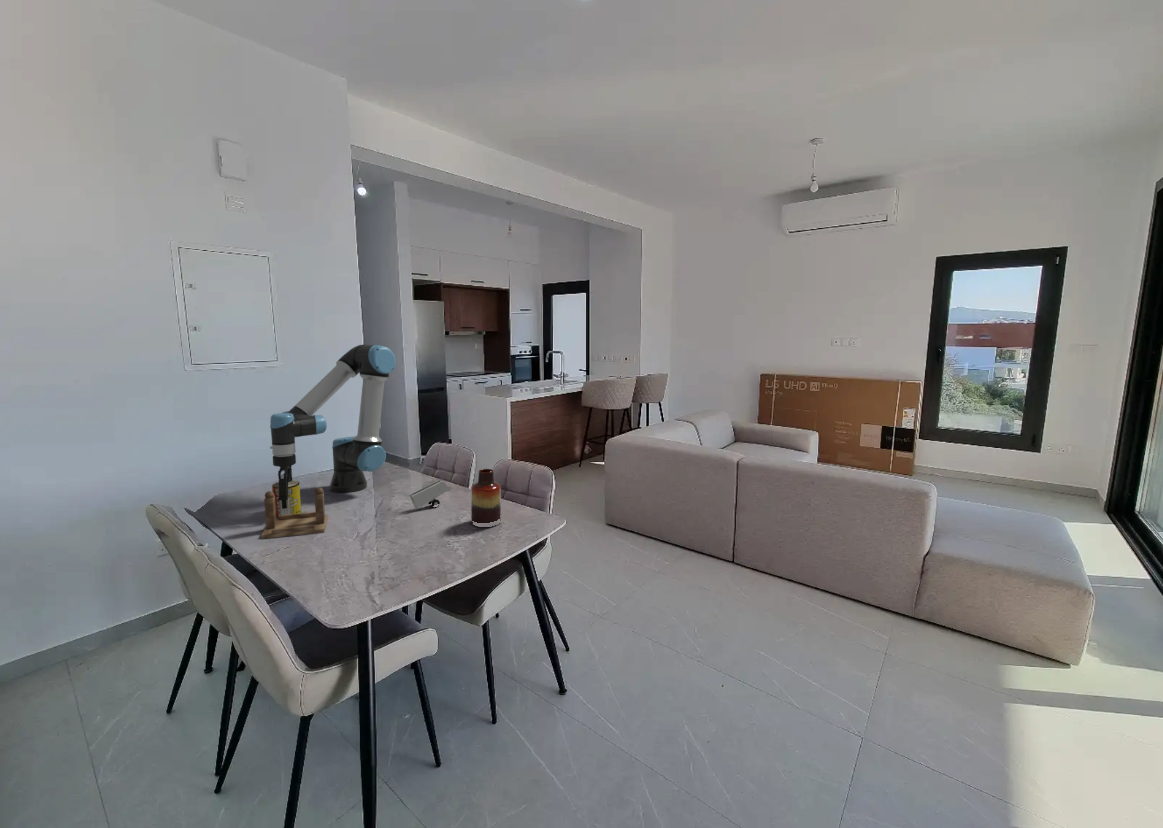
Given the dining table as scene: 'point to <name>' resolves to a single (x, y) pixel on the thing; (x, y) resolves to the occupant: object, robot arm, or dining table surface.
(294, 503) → the beverage can
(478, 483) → the vase
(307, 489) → the dining table surface
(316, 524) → the knobbed wooden cradle
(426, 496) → the grey toy trailer
